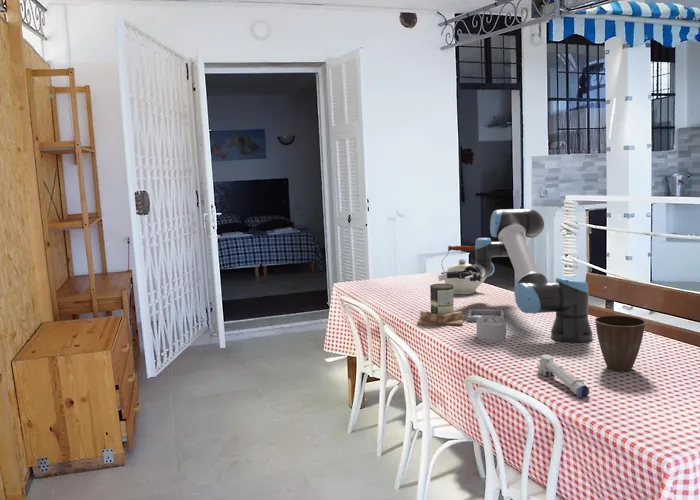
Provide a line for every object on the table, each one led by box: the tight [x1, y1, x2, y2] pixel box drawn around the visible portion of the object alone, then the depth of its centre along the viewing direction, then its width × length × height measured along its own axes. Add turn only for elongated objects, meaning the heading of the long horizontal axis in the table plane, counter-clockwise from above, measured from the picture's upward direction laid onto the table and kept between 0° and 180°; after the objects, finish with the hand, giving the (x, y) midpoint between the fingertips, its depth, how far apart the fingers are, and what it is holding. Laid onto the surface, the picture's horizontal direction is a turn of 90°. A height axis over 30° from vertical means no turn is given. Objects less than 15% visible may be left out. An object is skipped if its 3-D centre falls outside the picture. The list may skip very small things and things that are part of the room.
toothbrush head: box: [537, 353, 590, 398], centre depth 193 cm, size 5×7×25 cm
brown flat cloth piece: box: [416, 310, 465, 327], centre depth 275 cm, size 16×19×4 cm
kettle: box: [441, 245, 487, 295], centre depth 334 cm, size 25×18×25 cm
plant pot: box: [594, 315, 646, 372], centre depth 205 cm, size 15×15×16 cm
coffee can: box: [429, 283, 454, 315], centre depth 277 cm, size 10×10×14 cm
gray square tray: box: [467, 308, 505, 323], centre depth 278 cm, size 15×15×2 cm
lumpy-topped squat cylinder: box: [476, 314, 507, 344], centre depth 245 cm, size 10×13×9 cm
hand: (452, 279), depth 284 cm, fingers open, 13 cm apart
